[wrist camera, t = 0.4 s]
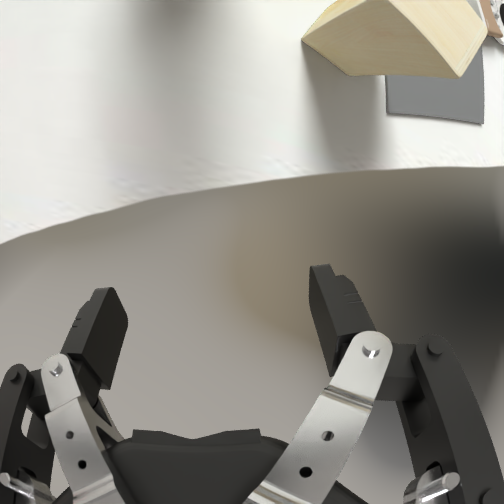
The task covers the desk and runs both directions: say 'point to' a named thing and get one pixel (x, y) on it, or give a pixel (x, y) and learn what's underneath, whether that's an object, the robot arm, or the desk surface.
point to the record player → (491, 16)
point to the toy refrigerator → (398, 37)
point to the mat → (439, 94)
